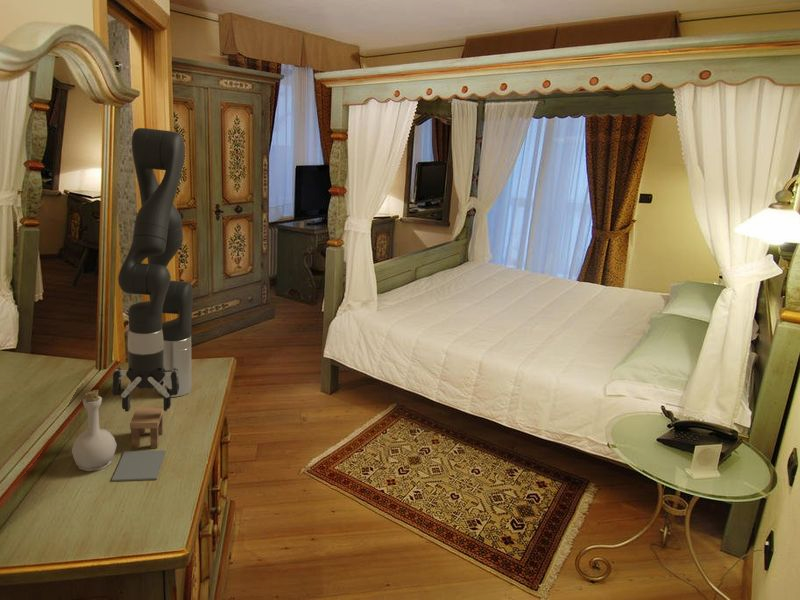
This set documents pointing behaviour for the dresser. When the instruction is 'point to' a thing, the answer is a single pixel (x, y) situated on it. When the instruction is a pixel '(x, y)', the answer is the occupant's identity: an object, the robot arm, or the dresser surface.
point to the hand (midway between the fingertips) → (146, 409)
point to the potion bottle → (93, 439)
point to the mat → (139, 465)
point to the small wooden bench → (146, 425)
